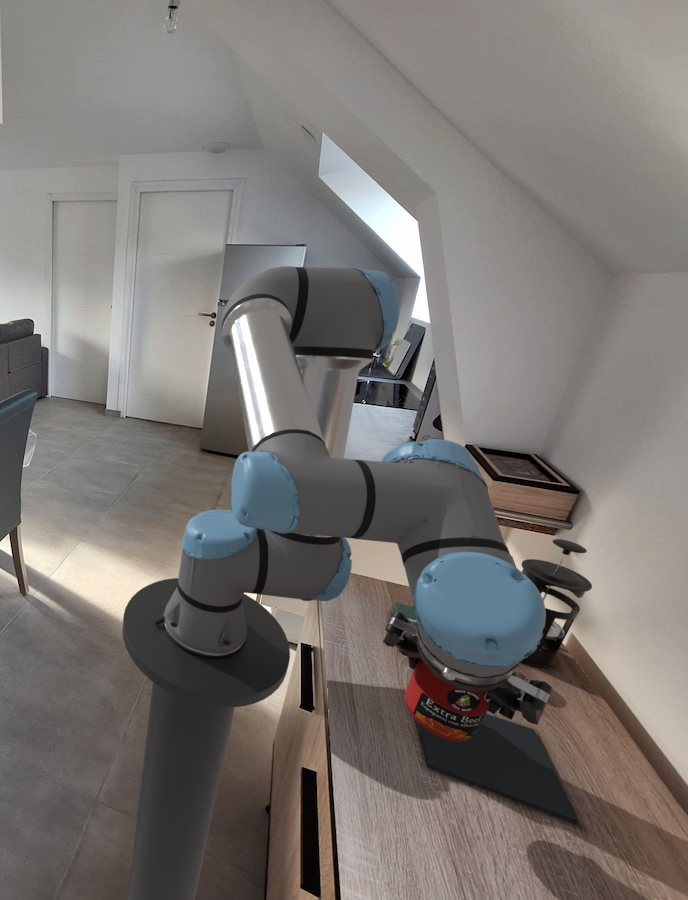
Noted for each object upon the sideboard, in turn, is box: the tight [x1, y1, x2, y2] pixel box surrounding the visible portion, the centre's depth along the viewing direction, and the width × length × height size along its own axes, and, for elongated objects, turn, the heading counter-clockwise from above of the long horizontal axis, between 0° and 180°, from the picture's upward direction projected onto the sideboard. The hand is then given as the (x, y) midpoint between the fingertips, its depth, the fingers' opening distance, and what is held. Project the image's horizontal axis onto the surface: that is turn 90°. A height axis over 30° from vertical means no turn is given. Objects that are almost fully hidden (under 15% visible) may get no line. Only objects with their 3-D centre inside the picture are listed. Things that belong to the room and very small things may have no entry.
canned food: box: [404, 658, 493, 741], centre depth 56 cm, size 8×8×11 cm
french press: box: [520, 538, 593, 669], centre depth 82 cm, size 12×9×23 cm
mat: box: [416, 713, 580, 825], centre depth 66 cm, size 16×14×1 cm
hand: (453, 680), depth 59 cm, fingers closed on canned food, 8 cm apart
